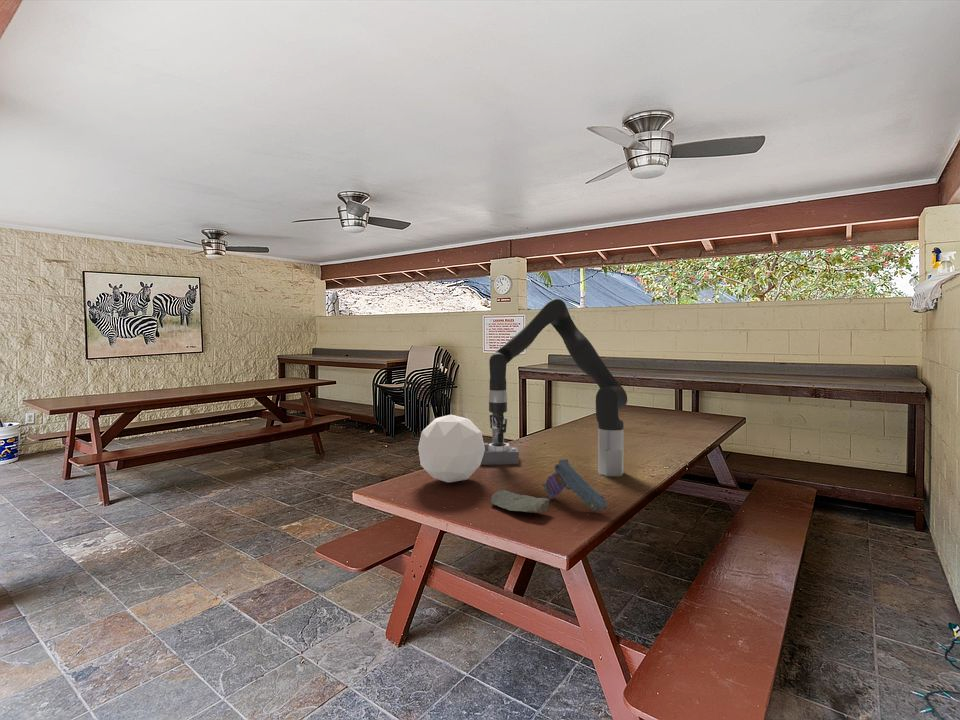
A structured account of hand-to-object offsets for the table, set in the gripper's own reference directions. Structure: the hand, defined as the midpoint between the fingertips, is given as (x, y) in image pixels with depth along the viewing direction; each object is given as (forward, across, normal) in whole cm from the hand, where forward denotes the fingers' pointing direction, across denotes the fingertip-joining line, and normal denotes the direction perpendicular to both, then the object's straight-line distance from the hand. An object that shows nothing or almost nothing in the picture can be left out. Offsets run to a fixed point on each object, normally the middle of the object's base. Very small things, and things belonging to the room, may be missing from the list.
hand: (498, 440), depth 208 cm
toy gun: (+12, -53, -1) cm, 54 cm away
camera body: (+10, 0, 0) cm, 10 cm away
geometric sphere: (+10, -19, +26) cm, 33 cm away
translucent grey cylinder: (+2, 0, 0) cm, 2 cm away
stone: (+9, -55, +19) cm, 59 cm away
